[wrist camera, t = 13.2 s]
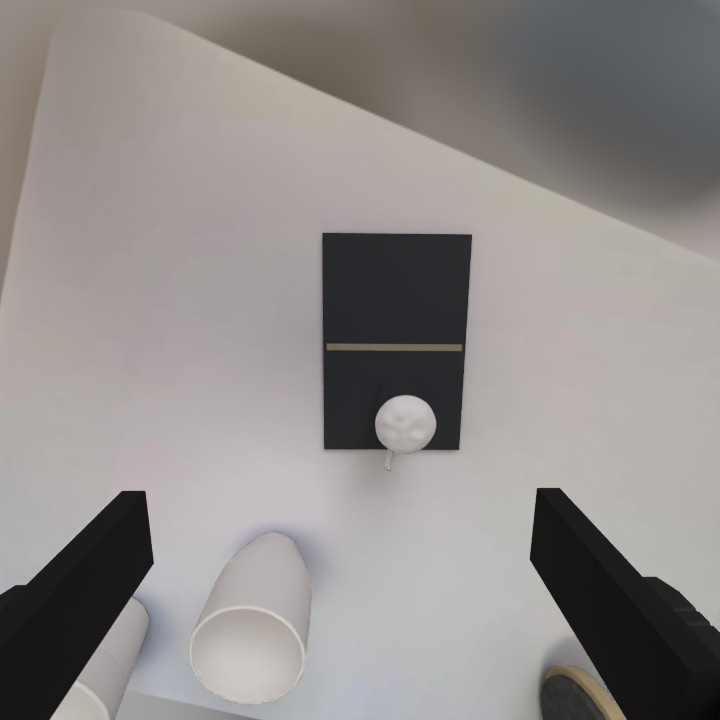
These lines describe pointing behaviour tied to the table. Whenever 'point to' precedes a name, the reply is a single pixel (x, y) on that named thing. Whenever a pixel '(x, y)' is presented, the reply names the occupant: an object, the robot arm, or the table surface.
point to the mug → (255, 624)
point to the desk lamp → (576, 696)
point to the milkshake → (402, 419)
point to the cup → (107, 669)
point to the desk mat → (393, 330)
